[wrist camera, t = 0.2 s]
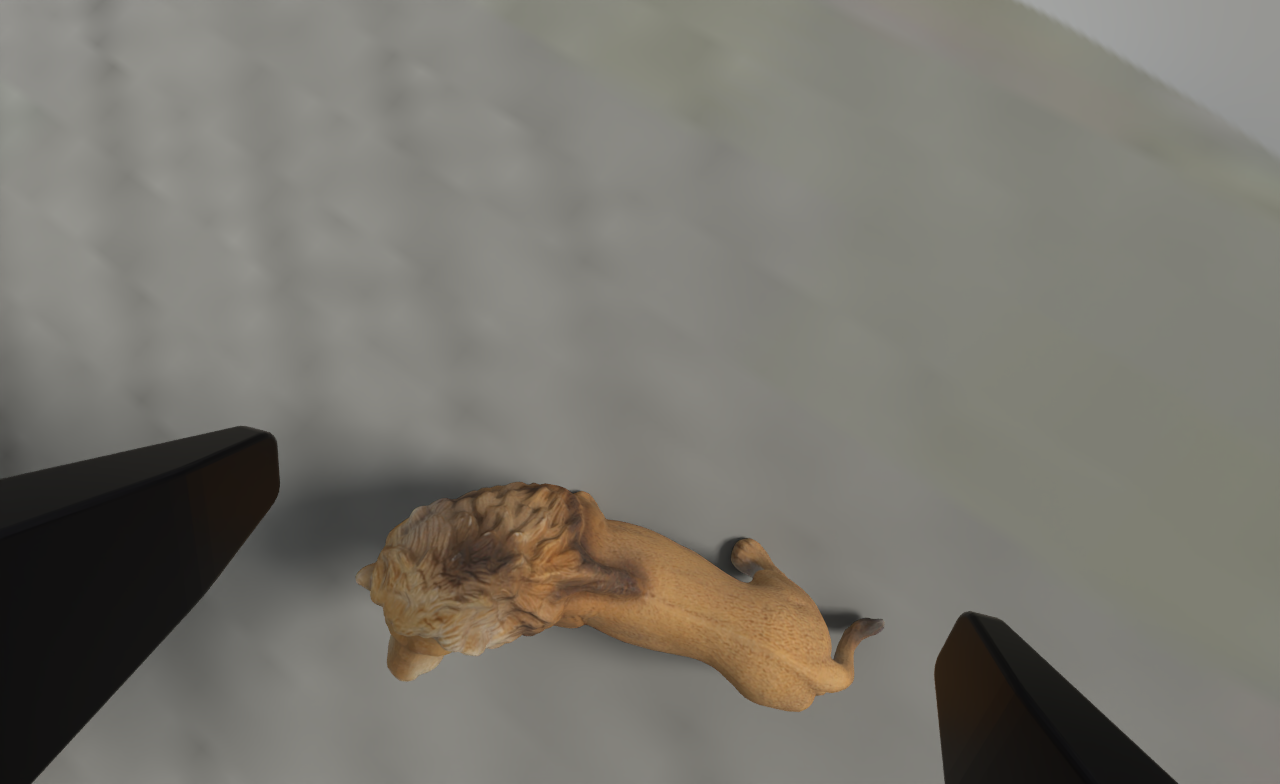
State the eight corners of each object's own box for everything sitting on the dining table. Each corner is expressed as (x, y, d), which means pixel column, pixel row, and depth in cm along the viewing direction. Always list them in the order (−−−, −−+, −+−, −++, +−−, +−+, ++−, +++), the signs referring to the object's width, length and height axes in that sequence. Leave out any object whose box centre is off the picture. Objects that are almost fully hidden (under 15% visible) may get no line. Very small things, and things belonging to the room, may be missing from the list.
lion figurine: (444, 618, 23) (303, 704, 14) (474, 466, 24) (358, 456, 15) (869, 697, 22) (1006, 843, 13) (887, 537, 23) (1030, 572, 14)
